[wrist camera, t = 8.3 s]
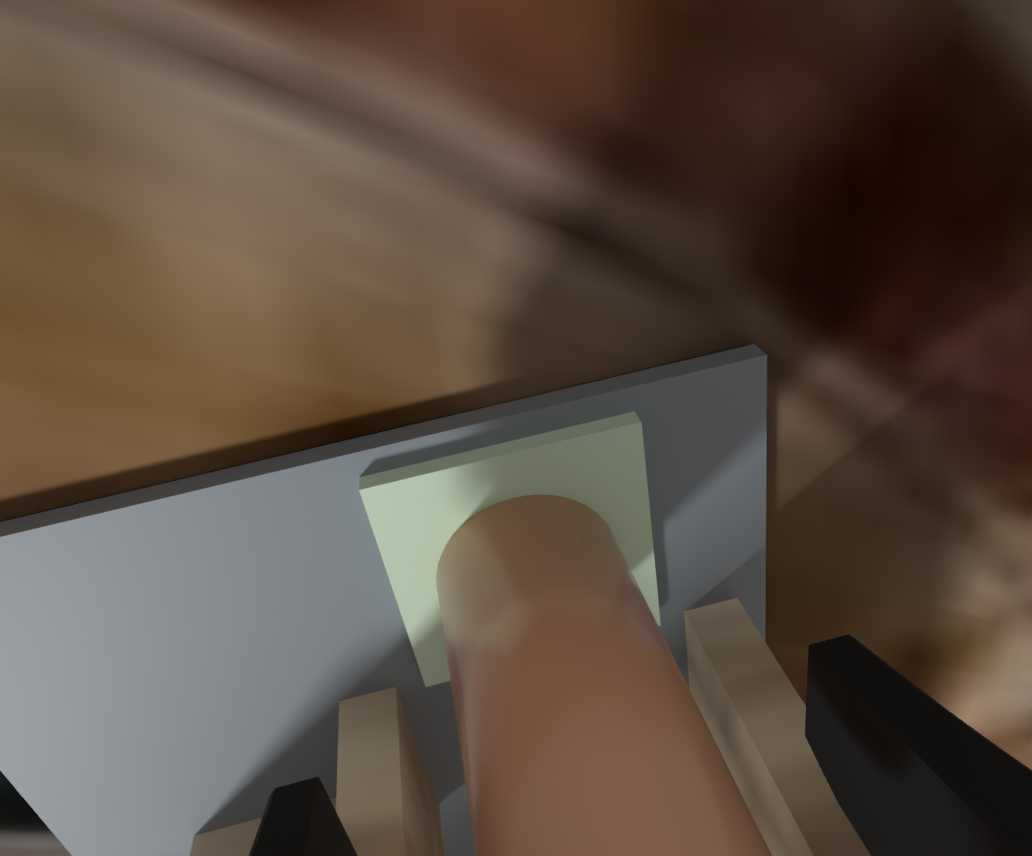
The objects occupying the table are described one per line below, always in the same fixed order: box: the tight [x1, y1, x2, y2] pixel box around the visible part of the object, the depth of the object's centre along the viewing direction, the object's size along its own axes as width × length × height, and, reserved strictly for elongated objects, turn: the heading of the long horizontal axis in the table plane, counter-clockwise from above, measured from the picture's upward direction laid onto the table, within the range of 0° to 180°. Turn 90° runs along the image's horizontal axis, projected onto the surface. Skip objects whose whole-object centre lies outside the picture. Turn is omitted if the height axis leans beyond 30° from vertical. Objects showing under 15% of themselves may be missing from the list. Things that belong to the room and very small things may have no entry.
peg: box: [436, 495, 772, 856], centre depth 11 cm, size 4×4×8 cm
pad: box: [359, 411, 661, 687], centre depth 14 cm, size 5×5×1 cm
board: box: [0, 344, 767, 856], centre depth 18 cm, size 18×16×1 cm
